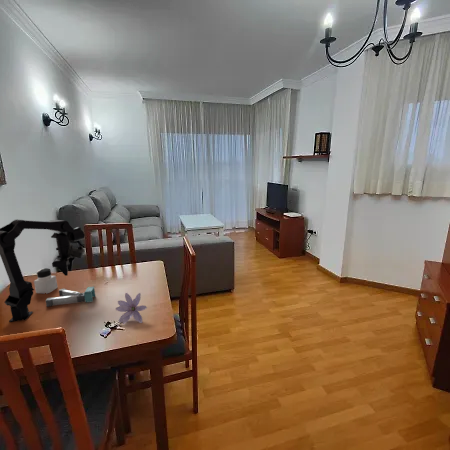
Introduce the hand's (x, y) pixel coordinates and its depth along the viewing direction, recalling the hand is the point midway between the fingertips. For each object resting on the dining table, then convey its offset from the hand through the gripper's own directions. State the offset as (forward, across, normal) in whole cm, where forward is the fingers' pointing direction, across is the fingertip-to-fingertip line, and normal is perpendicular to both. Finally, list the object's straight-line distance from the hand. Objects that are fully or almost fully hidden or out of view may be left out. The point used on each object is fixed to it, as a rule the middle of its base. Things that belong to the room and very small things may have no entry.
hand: (68, 273), depth 134 cm
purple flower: (+11, -33, -34) cm, 49 cm away
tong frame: (+11, -11, -1) cm, 16 cm away
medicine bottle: (+11, +6, +14) cm, 19 cm away
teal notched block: (+11, -11, -12) cm, 19 cm away
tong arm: (+11, -5, -1) cm, 12 cm away
